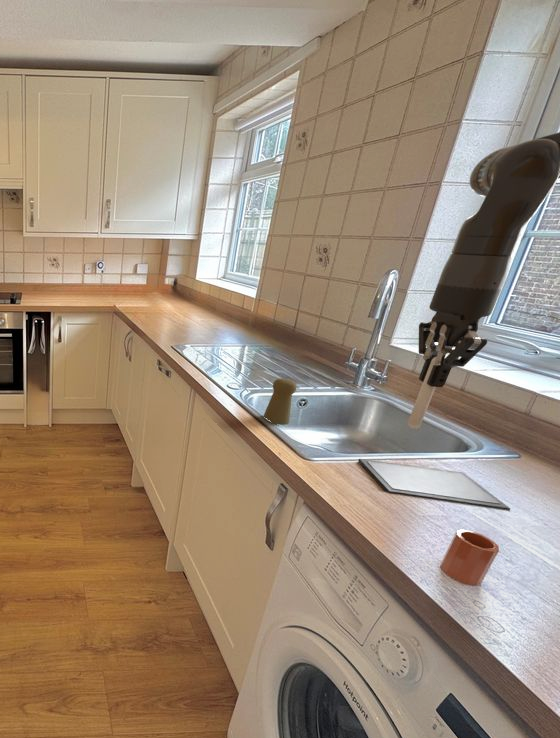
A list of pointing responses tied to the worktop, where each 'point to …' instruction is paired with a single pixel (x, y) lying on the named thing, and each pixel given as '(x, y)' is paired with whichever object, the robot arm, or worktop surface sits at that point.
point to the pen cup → (469, 557)
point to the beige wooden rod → (422, 401)
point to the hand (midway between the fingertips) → (430, 383)
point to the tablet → (430, 483)
